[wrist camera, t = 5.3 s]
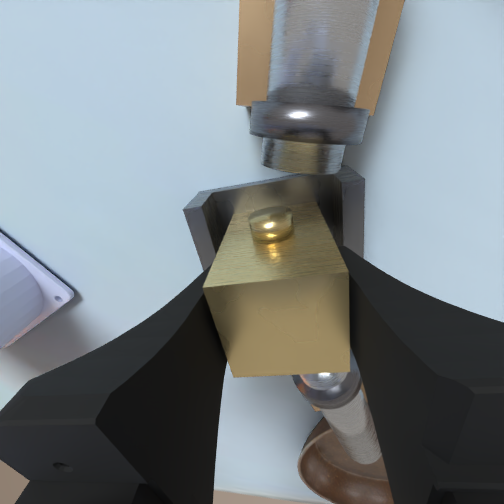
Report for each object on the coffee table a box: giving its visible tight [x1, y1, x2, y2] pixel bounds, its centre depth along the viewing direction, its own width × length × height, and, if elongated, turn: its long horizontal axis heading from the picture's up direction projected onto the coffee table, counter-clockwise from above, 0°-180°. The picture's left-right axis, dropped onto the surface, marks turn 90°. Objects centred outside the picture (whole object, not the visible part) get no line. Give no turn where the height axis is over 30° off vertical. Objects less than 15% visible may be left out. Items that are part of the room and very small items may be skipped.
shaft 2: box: [292, 347, 382, 464], centre depth 14 cm, size 8×4×6 cm, turn 26°
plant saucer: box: [298, 402, 394, 504], centre depth 21 cm, size 18×18×3 cm
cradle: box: [183, 166, 365, 271], centre depth 12 cm, size 6×7×3 cm
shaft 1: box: [236, 0, 405, 175], centre depth 7 cm, size 8×4×6 cm, turn 176°
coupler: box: [203, 202, 350, 377], centre depth 10 cm, size 6×4×6 cm
